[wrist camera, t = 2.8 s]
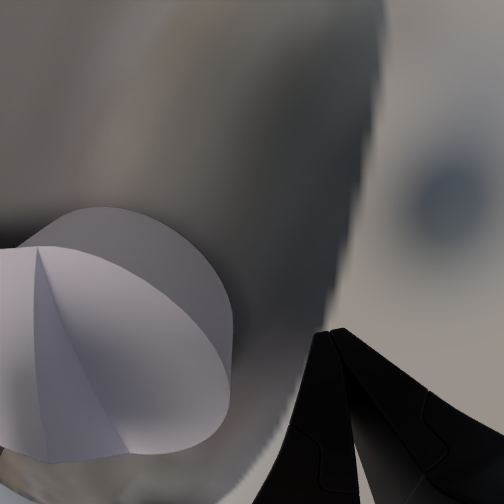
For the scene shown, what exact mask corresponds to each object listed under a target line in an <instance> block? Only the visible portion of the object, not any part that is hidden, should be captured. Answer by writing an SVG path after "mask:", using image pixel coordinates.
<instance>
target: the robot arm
mask: <svg viewBox="0 0 504 504" xmlns="http://www.w3.org/2000/svg"><path fill="white" fill-rule="evenodd" d="M289 424H290V425H288V428H287V432H286V435H285V438H284V441H283V443H282V446H281V449H280V451H279V454H278V456H277V458H276V460H275V462H274V464H273V466H272V469H271V471H270V473H269V474H268V476H267V478H266V480H265V482H264V483H263V485H262V487H261V489H260V491H259V492H258V494H257V496H256V498H255V499H254V501H253V503H252V504H360V496H359V484H358V475H357V465H356V456H355V448H354V443H355V446H356V449H357V452H358V454H359V457H360V460H361V463H362V466H363V469H364V472H365V475H366V478H367V480H368V484H369V487H370V490H371V493H372V495H373V499H374V502H375V504H504V435H502V434H500V433H499V432H497V431H495V430H493V429H491V428H489V427H487V426H485V425H484V424H482V423H480V422H478V421H476V420H475V419H473V418H471V417H469V416H467V415H466V414H464V413H462V412H460V411H459V410H457V409H455V408H454V407H452V406H451V405H450V404H448V403H447V402H445V401H443V400H442V399H441V398H439V397H438V396H437V395H435V394H434V393H433V392H431V391H428V389H427V388H425V387H424V386H423V385H421V384H420V383H419V382H417V381H416V380H415V379H413V378H412V377H410V376H409V375H408V374H406V373H405V372H404V371H402V370H400V368H398V367H397V366H395V365H394V364H393V363H391V362H390V361H388V360H387V359H386V358H385V357H383V356H382V355H380V354H379V353H378V352H376V351H375V350H374V349H372V348H371V347H370V346H368V345H367V344H366V343H364V342H363V341H362V340H360V339H359V338H358V337H356V336H355V335H353V334H352V333H351V332H349V331H348V330H347V329H345V328H339V329H334V330H331V331H330V332H329V331H323V332H318V333H315V334H314V336H313V340H312V343H311V347H310V351H309V355H308V359H307V363H306V367H305V370H304V374H303V378H302V381H301V385H300V388H299V392H298V395H297V399H296V402H295V406H294V409H293V413H292V416H291V419H290V422H289Z"/></svg>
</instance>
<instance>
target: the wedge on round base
mask: <svg viewBox="0 0 504 504" xmlns="http://www.w3.org/2000/svg"><path fill="white" fill-rule="evenodd" d="M232 342H233V316H232V309H231V306H230V302H229V298H228V295H227V293H226V291H225V288H224V286H223V284H222V282H221V280H220V278H219V277H218V275H217V274H216V272H215V270H214V269H213V267H212V266H211V265H210V263H209V262H208V261H207V260H206V258H205V257H204V256H203V255H202V254H201V253H200V252H199V251H198V250H197V249H196V248H195V247H194V246H193V245H192V244H191V243H190V242H189V241H188V240H186V239H185V238H184V237H182V236H181V235H180V234H178V233H177V232H176V231H174V230H173V229H171V228H169V227H168V226H166V225H164V224H163V223H161V222H159V221H157V220H155V219H153V218H150V217H148V216H145V215H143V214H141V213H137V212H133V211H130V210H126V209H121V208H113V207H89V208H84V209H79V210H75V211H73V212H70V213H68V214H65V215H63V216H61V217H60V218H58V219H56V220H55V221H53V222H52V223H50V224H49V225H47V226H46V227H44V228H43V229H42V230H40V231H39V232H37V233H36V234H34V235H33V236H32V237H30V238H29V239H27V240H26V241H25V242H23V243H22V244H21V245H19V246H18V247H17V248H9V249H0V446H2V447H4V448H7V449H9V450H12V451H14V452H17V453H20V454H22V455H25V456H28V457H30V458H33V459H36V460H39V461H42V462H45V463H48V464H56V463H66V462H75V461H83V460H90V459H97V458H103V457H109V456H115V455H121V454H126V453H136V454H165V453H172V452H177V451H181V450H184V449H187V448H190V447H193V446H195V445H197V444H199V443H201V442H203V441H204V440H206V439H207V438H209V437H210V436H211V435H212V434H213V433H214V432H215V431H216V430H217V429H218V428H219V427H220V425H221V424H222V422H223V420H224V419H225V417H226V414H227V411H228V408H229V400H230V383H231V362H232Z"/></svg>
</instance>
